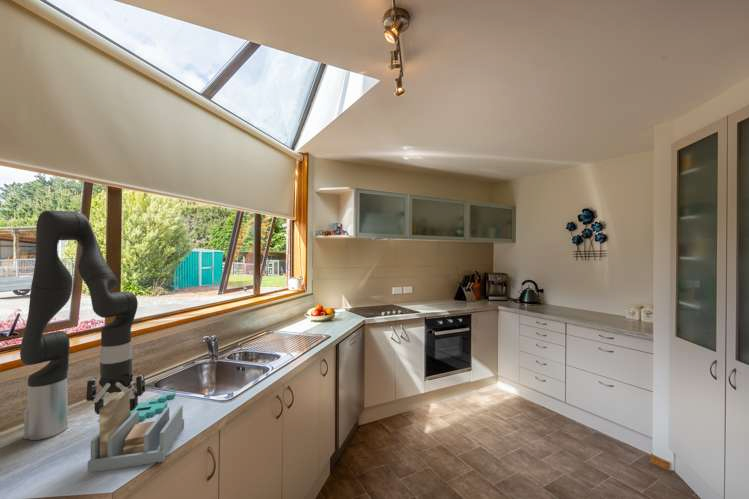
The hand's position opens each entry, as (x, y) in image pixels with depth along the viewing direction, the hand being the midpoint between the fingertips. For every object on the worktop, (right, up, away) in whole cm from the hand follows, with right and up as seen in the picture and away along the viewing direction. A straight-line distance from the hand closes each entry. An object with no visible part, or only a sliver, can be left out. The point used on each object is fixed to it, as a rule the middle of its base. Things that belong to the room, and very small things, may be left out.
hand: (116, 411), depth 96 cm
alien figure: (-12, -13, +23) cm, 29 cm away
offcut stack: (+6, -12, +2) cm, 14 cm away
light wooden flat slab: (0, -12, 0) cm, 12 cm away
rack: (+6, -12, +2) cm, 14 cm away
